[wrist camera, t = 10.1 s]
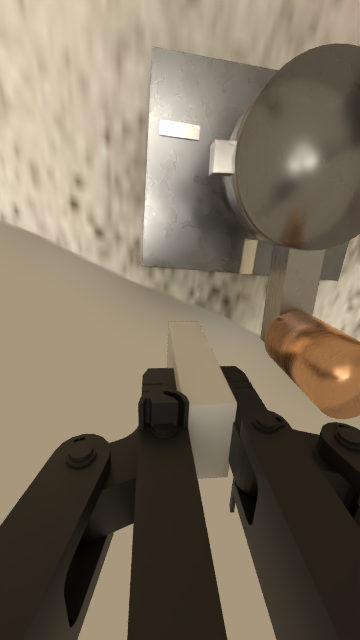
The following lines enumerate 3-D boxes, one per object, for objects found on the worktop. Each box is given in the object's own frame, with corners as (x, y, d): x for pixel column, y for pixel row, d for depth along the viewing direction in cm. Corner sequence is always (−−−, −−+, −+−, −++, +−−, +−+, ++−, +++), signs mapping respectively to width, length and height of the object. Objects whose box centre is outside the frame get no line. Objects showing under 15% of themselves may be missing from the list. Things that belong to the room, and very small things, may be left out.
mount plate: (377, 99, 24) (472, 47, 17) (328, 278, 29) (386, 294, 22) (151, 58, 21) (154, -25, 14) (142, 263, 26) (140, 277, 19)
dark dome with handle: (211, 65, 15) (283, -113, 7) (404, 84, 17) (643, -47, 9) (197, 349, 21) (228, 426, 13) (341, 345, 23) (449, 412, 15)
